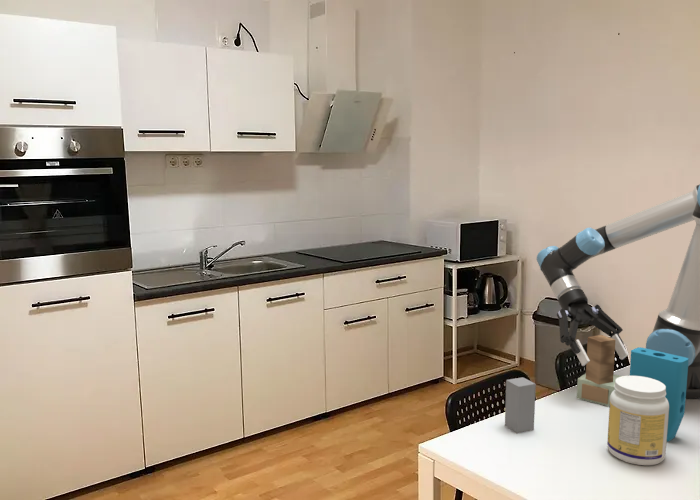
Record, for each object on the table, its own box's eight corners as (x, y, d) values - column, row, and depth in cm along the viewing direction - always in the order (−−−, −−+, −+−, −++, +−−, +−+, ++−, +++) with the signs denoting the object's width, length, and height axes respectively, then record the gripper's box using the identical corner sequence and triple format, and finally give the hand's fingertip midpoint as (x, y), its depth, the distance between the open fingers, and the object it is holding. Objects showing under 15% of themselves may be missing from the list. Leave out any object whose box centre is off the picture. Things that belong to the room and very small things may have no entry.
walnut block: (599, 376, 177) (601, 334, 175) (613, 381, 172) (615, 339, 170) (585, 378, 175) (587, 336, 173) (598, 384, 170) (601, 341, 168)
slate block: (521, 422, 160) (522, 377, 158) (533, 430, 156) (535, 383, 154) (504, 425, 158) (506, 380, 157) (517, 433, 154) (518, 386, 152)
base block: (625, 397, 177) (626, 377, 176) (612, 409, 169) (613, 387, 168) (589, 389, 183) (590, 369, 182) (575, 399, 175) (576, 379, 174)
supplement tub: (616, 437, 151) (620, 370, 149) (671, 452, 144) (676, 381, 141) (599, 456, 142) (603, 384, 139) (657, 473, 134) (662, 397, 132)
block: (683, 438, 150) (690, 358, 147) (674, 445, 147) (681, 363, 144) (634, 423, 159) (639, 346, 156) (624, 428, 156) (629, 351, 153)
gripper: (596, 297, 189) (632, 360, 177) (528, 305, 180) (561, 372, 168) (610, 283, 183) (648, 347, 172) (540, 291, 174) (576, 359, 162)
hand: (605, 360), depth 170 cm, fingers open, 13 cm apart
